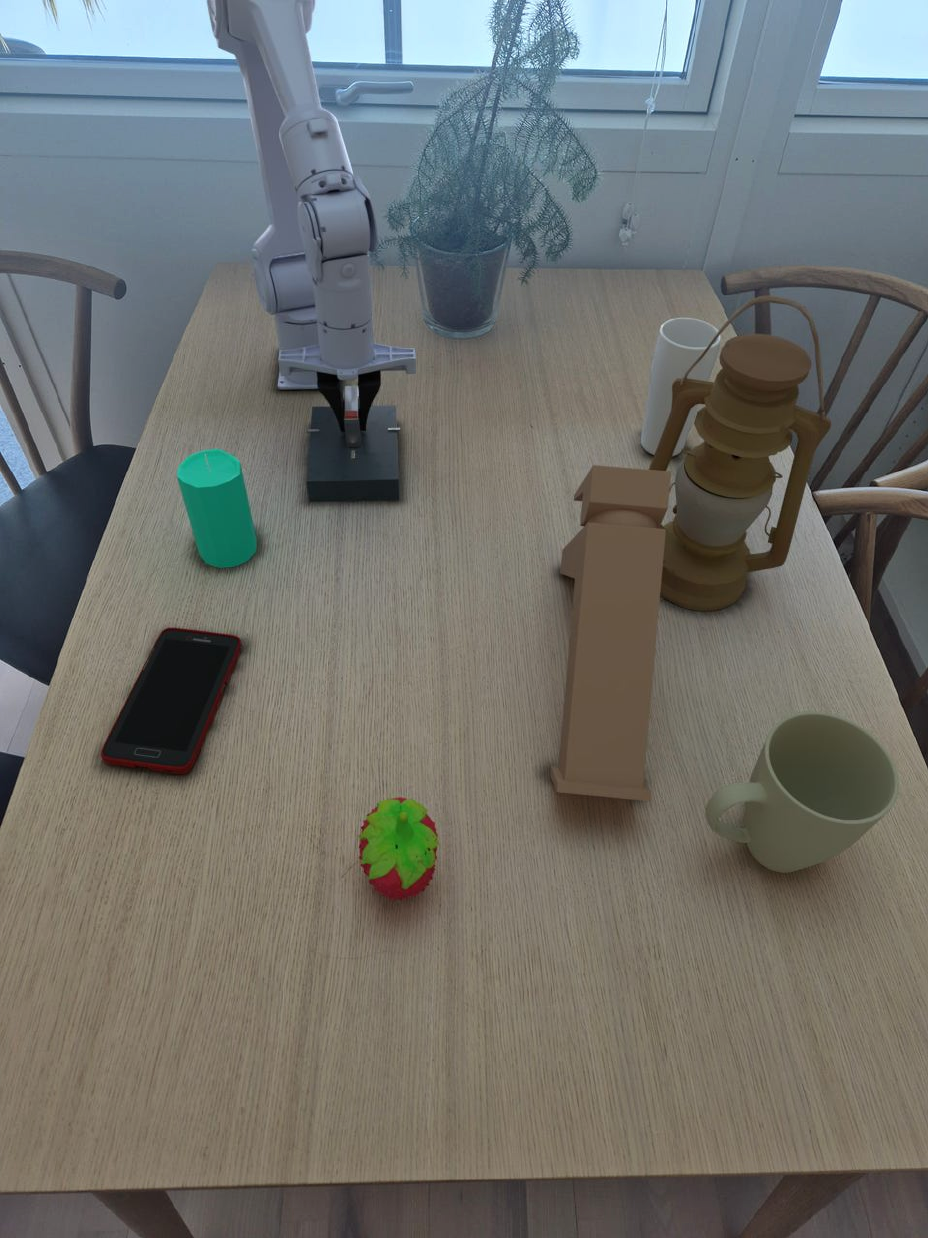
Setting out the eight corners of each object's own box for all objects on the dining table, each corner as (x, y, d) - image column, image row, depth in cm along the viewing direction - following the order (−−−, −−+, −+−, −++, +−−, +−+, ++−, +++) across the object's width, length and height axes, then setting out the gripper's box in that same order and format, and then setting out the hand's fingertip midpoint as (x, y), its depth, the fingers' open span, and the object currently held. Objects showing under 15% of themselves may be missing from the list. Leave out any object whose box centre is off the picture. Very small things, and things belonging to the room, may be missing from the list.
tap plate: (311, 425, 101) (309, 403, 98) (399, 424, 102) (398, 402, 99) (305, 502, 91) (302, 479, 89) (402, 500, 92) (401, 477, 90)
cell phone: (99, 764, 68) (96, 758, 68) (165, 631, 78) (163, 625, 77) (190, 777, 68) (187, 771, 67) (245, 642, 78) (243, 635, 77)
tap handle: (346, 414, 97) (344, 383, 94) (360, 413, 98) (358, 383, 95) (346, 447, 93) (343, 417, 90) (360, 447, 93) (358, 416, 90)
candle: (226, 576, 83) (201, 483, 74) (186, 550, 86) (158, 457, 77) (269, 545, 87) (251, 451, 78) (230, 520, 89) (208, 427, 80)
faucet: (607, 754, 85) (629, 512, 85) (651, 801, 62) (680, 470, 62) (538, 747, 85) (560, 506, 85) (556, 792, 62) (586, 462, 62)
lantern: (764, 549, 89) (878, 278, 66) (773, 621, 82) (904, 345, 59) (623, 531, 90) (689, 259, 67) (621, 600, 83) (693, 322, 61)
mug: (740, 768, 70) (786, 683, 61) (852, 838, 66) (918, 758, 57) (676, 861, 65) (716, 782, 56) (795, 943, 61) (858, 872, 52)
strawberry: (437, 831, 66) (439, 764, 58) (438, 923, 61) (439, 863, 53) (364, 831, 65) (356, 764, 58) (359, 924, 60) (349, 864, 53)
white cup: (693, 464, 98) (728, 350, 87) (636, 462, 98) (664, 347, 87) (684, 430, 103) (716, 317, 91) (630, 428, 103) (655, 315, 91)
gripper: (270, 336, 82) (287, 448, 92) (416, 334, 83) (417, 445, 93) (274, 301, 86) (290, 412, 96) (413, 300, 87) (414, 409, 98)
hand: (353, 426), depth 95 cm, fingers closed on tap handle, 2 cm apart
